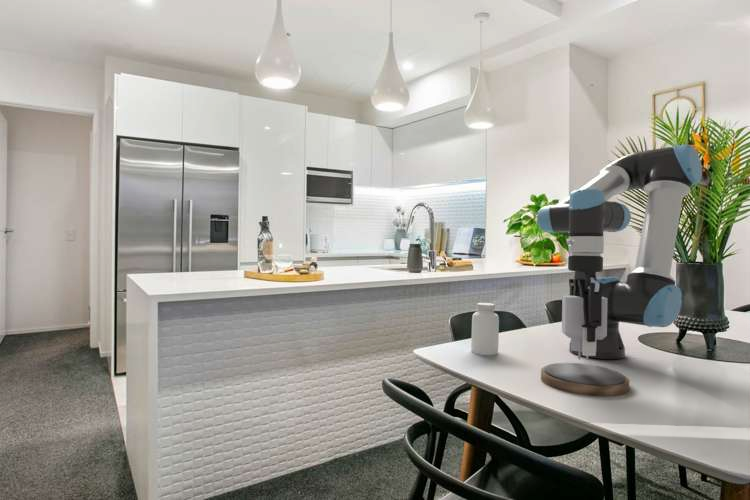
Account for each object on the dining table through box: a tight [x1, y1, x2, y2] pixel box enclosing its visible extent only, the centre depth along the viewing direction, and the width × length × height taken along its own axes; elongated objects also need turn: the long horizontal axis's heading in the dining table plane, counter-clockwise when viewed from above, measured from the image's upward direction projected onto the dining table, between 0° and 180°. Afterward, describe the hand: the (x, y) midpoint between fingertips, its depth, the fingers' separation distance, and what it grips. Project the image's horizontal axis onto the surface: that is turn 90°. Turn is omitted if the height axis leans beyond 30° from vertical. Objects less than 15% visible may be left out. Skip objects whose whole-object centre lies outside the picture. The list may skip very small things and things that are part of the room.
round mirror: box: [540, 362, 630, 397], centre depth 106 cm, size 19×19×2 cm
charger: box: [561, 294, 607, 361], centre depth 106 cm, size 5×9×15 cm, turn 80°
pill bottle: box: [470, 302, 500, 356], centre depth 135 cm, size 8×8×15 cm
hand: (583, 352), depth 106 cm, fingers closed on charger, 5 cm apart
